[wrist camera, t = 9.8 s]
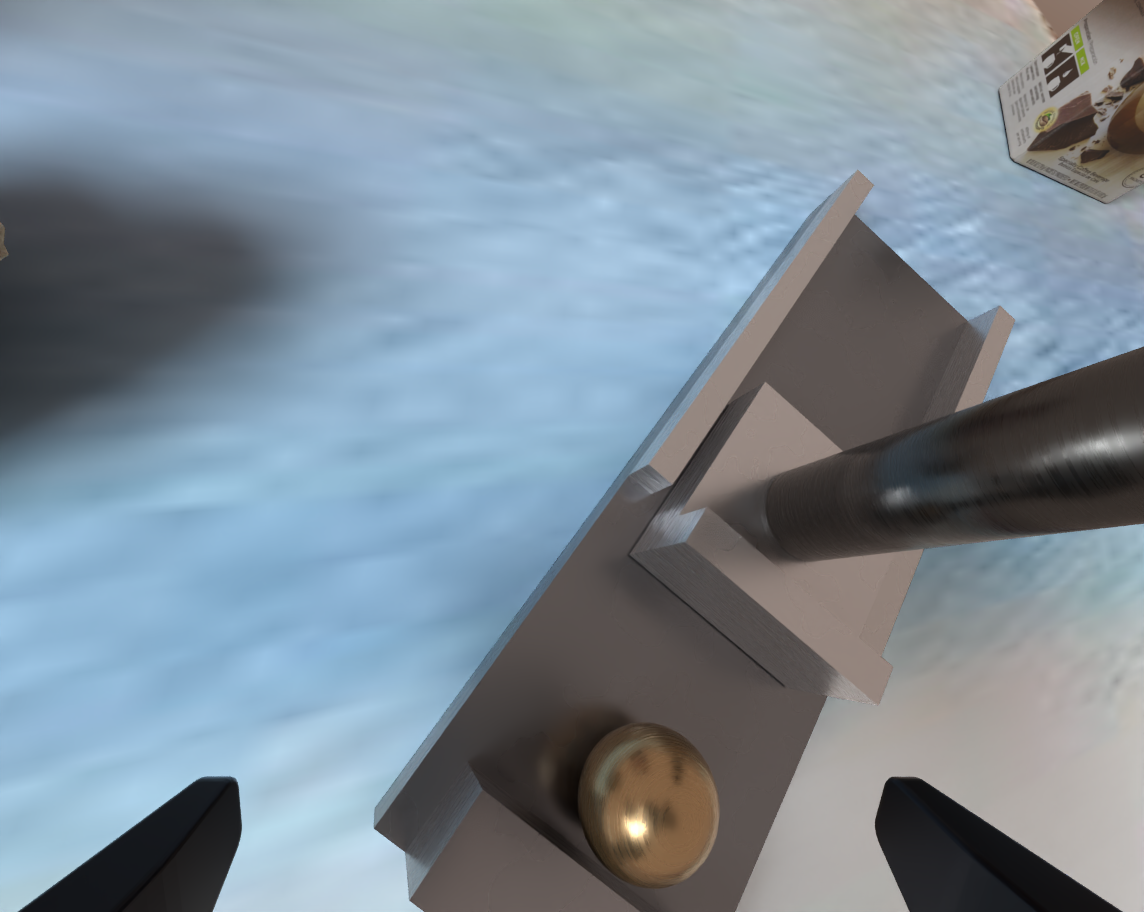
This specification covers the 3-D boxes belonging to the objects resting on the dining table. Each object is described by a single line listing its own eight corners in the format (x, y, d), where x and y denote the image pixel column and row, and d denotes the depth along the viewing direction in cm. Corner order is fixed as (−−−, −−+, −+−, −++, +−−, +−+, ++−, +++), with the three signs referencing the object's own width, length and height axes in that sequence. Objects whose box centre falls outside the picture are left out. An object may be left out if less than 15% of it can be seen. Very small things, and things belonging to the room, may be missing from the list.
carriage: (788, 688, 18) (1412, 808, 7) (629, 554, 18) (1038, 460, 7) (866, 521, 21) (1395, 423, 10) (731, 402, 20) (1134, 159, 9)
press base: (648, 1015, 16) (759, 1186, 11) (375, 808, 15) (370, 897, 10) (952, 348, 28) (1067, 295, 23) (809, 214, 27) (898, 131, 22)
